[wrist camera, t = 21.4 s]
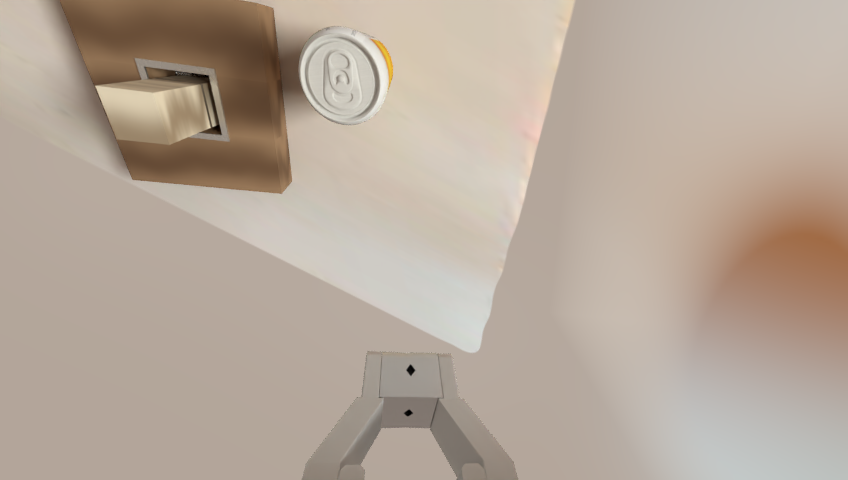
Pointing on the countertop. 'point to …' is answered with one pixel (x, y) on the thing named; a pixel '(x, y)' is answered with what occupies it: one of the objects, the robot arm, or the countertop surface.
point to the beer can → (345, 74)
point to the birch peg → (159, 108)
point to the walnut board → (202, 54)
